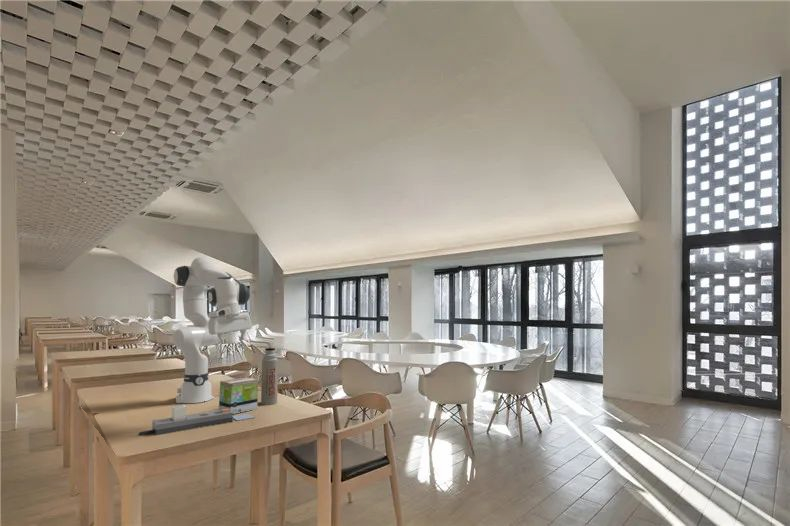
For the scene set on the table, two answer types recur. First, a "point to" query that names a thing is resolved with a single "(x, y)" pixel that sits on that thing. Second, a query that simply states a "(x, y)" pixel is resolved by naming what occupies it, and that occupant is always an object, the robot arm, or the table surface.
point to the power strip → (190, 422)
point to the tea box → (238, 395)
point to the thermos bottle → (269, 377)
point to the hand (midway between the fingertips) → (232, 342)
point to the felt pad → (243, 417)
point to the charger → (178, 413)
